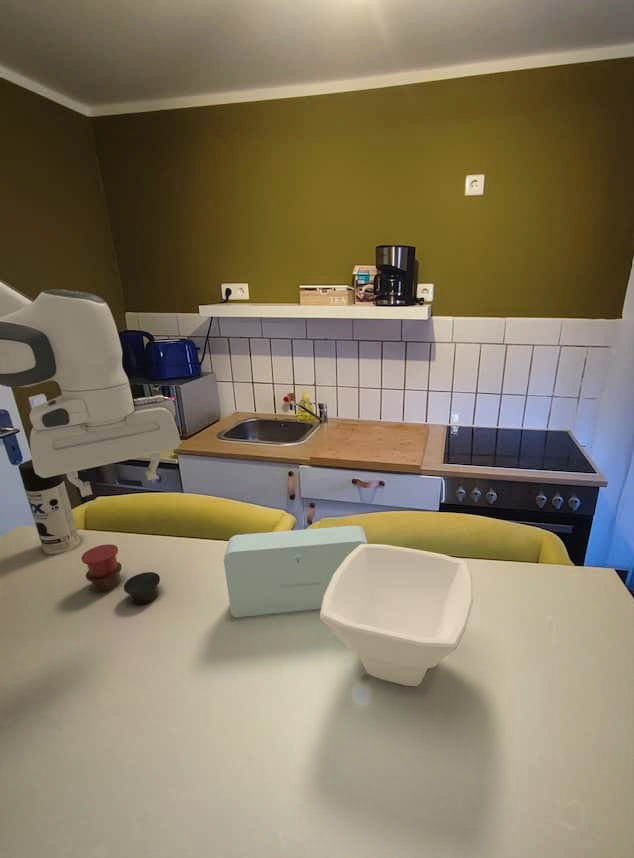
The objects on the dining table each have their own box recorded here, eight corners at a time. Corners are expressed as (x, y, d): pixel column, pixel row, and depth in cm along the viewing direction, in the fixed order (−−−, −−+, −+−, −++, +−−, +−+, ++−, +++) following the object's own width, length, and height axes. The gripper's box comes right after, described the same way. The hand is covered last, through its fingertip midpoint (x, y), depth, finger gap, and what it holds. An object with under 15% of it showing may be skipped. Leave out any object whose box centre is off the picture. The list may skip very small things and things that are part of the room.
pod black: (131, 614, 73) (126, 597, 72) (125, 596, 78) (121, 580, 76) (166, 600, 76) (163, 584, 75) (159, 584, 81) (155, 568, 80)
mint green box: (231, 623, 71) (221, 555, 66) (236, 600, 76) (227, 535, 72) (369, 609, 74) (369, 543, 69) (364, 587, 79) (364, 524, 75)
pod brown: (92, 601, 77) (87, 584, 75) (88, 584, 81) (84, 568, 80) (127, 588, 80) (123, 572, 79) (122, 573, 84) (118, 557, 83)
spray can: (36, 553, 91) (8, 466, 84) (65, 536, 97) (42, 454, 90) (59, 558, 89) (33, 470, 82) (88, 541, 95) (65, 457, 88)
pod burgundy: (87, 583, 76) (82, 566, 74) (84, 567, 80) (79, 551, 79) (124, 571, 79) (120, 554, 77) (119, 556, 83) (115, 540, 82)
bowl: (355, 607, 74) (354, 538, 69) (469, 632, 69) (477, 558, 64) (311, 700, 58) (306, 617, 53) (458, 742, 52) (467, 655, 47)
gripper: (167, 389, 73) (181, 464, 78) (18, 411, 62) (45, 497, 66) (177, 396, 68) (191, 475, 73) (17, 421, 57) (46, 512, 62)
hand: (120, 486), depth 69 cm, fingers open, 8 cm apart
